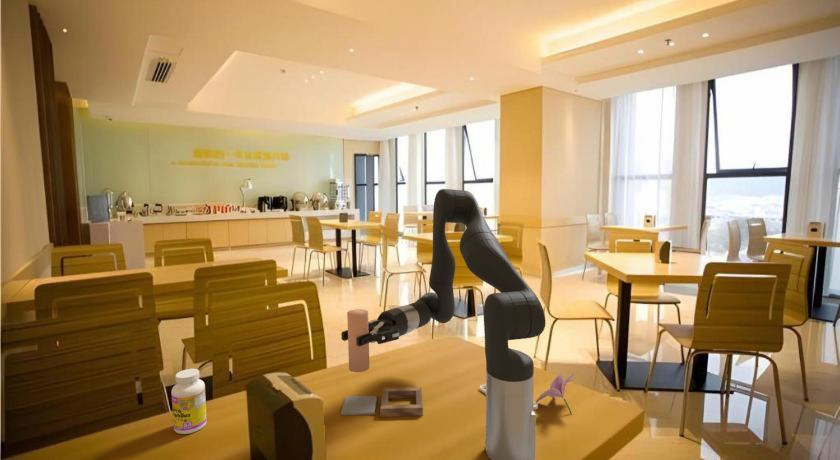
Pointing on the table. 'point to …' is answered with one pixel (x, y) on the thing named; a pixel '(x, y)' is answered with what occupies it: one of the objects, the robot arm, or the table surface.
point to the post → (355, 329)
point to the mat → (359, 405)
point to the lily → (557, 388)
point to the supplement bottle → (188, 402)
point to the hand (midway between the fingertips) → (350, 339)
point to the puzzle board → (401, 409)
